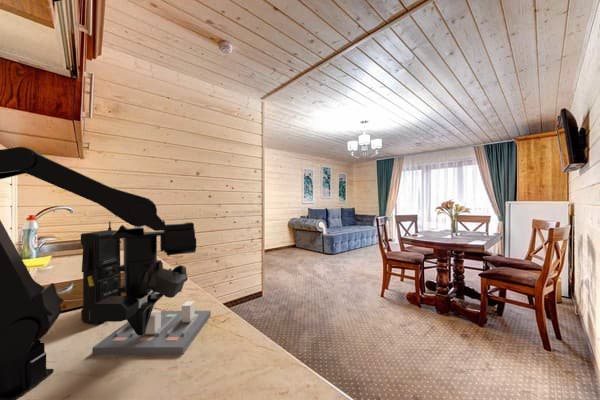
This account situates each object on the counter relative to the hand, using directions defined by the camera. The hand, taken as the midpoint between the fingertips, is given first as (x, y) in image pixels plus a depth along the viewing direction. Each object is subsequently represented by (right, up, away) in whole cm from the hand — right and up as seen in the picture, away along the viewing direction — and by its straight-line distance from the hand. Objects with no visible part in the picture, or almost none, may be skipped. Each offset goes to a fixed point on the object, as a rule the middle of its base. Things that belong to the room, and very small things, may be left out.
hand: (141, 334), depth 50 cm
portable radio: (-19, -4, +14) cm, 24 cm away
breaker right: (+5, -2, +10) cm, 11 cm away
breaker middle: (0, -2, +4) cm, 5 cm away
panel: (0, -4, +7) cm, 8 cm away
